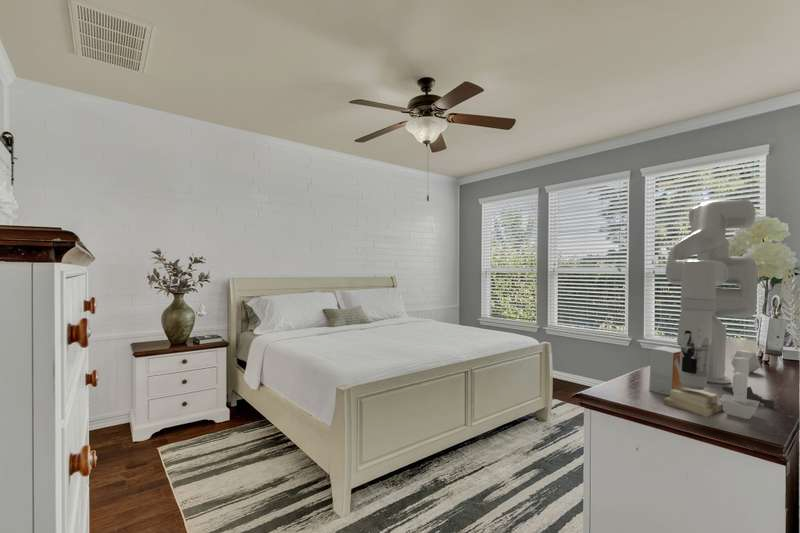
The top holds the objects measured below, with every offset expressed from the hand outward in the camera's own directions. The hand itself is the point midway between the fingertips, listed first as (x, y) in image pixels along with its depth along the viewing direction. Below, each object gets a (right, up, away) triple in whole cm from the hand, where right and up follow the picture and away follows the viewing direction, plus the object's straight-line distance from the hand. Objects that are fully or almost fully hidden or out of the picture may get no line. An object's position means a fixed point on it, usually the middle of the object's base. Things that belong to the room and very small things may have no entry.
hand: (694, 370), depth 106 cm
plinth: (0, -10, 0) cm, 10 cm away
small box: (+1, -10, +13) cm, 16 cm away
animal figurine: (+19, -11, +5) cm, 22 cm away
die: (+48, -11, +39) cm, 63 cm away
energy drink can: (0, -5, 0) cm, 5 cm away
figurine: (+8, -11, -5) cm, 14 cm away
